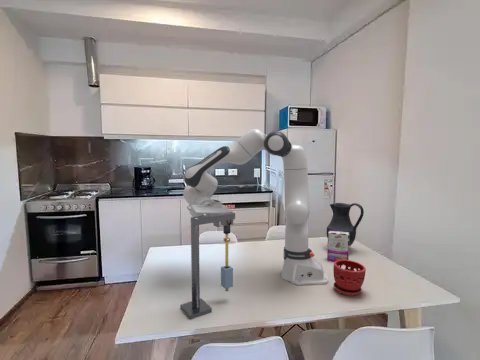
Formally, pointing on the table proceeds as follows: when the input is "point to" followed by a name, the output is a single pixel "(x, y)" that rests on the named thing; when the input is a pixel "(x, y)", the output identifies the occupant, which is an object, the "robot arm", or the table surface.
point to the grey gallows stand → (197, 304)
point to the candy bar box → (338, 246)
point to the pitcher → (344, 220)
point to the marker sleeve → (226, 277)
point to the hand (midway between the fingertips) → (219, 221)
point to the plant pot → (348, 277)
